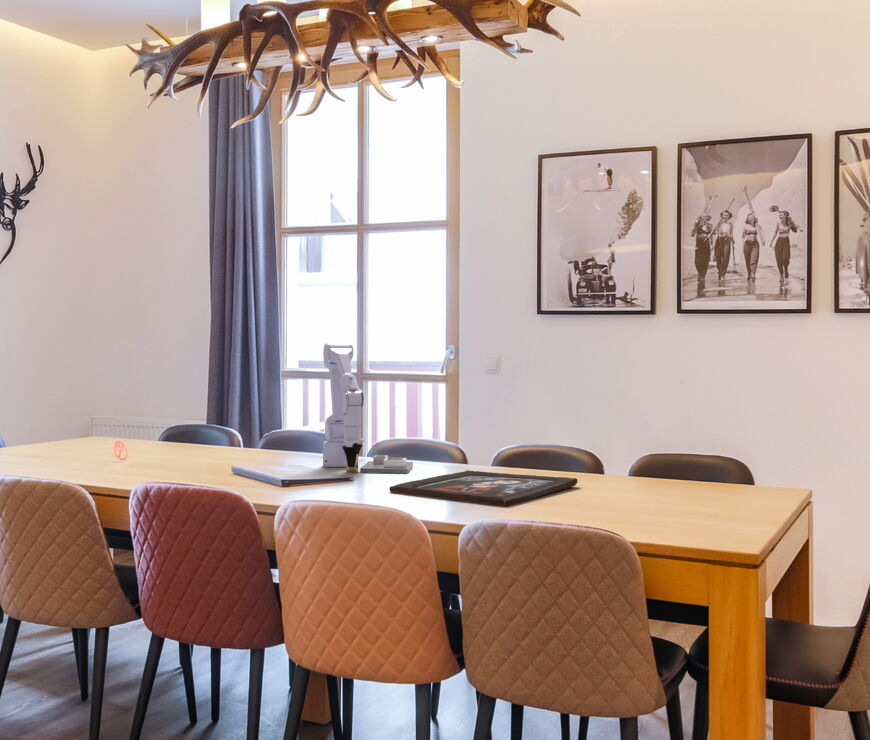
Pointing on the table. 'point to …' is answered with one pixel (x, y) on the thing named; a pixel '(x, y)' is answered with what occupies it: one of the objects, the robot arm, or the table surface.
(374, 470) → the socket plate
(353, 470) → the pipe stub
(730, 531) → the table surface
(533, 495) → the religious icon
